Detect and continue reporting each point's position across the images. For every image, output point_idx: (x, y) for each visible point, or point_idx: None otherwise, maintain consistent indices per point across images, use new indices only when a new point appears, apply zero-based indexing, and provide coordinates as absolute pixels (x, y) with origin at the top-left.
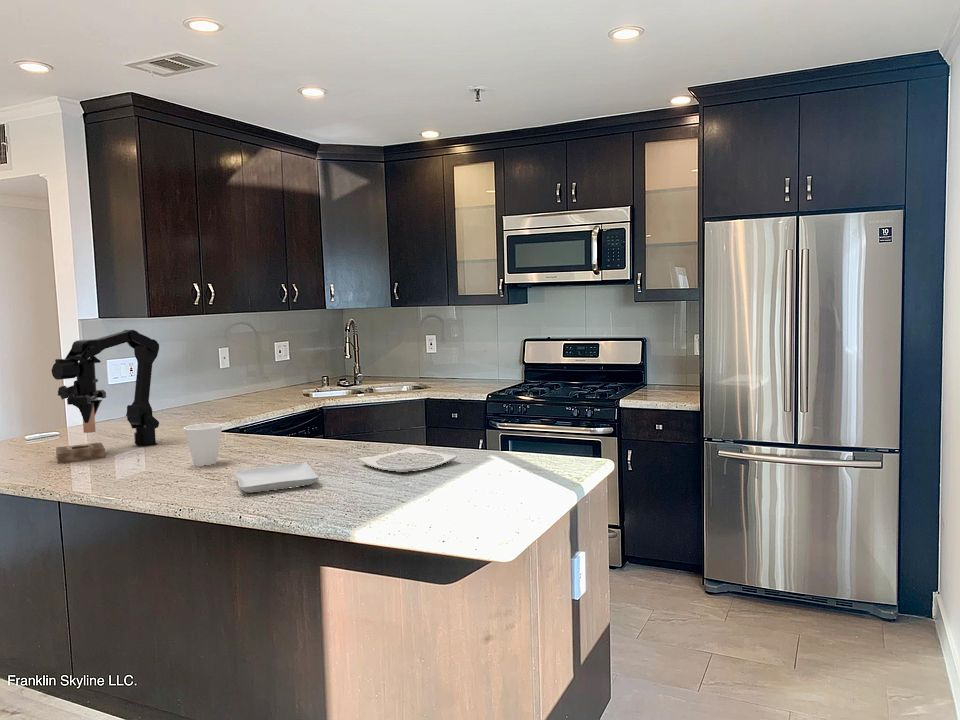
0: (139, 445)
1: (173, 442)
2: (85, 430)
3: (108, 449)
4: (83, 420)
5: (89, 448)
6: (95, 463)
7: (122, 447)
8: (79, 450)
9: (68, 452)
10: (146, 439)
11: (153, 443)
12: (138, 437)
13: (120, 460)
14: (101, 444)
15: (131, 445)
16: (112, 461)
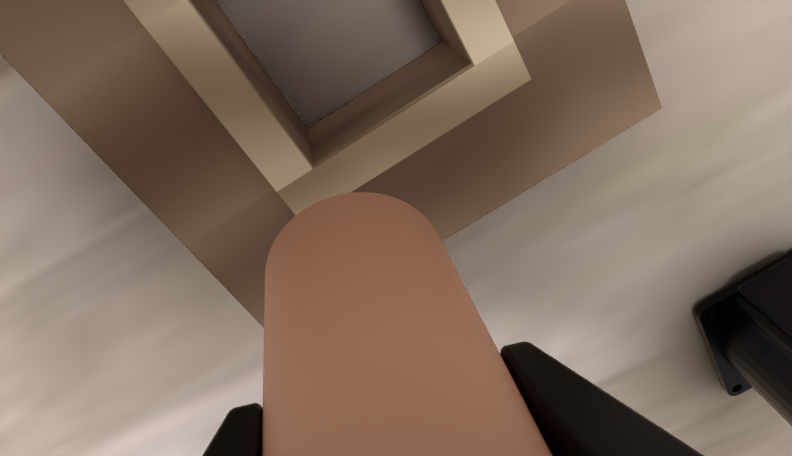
0: (698, 321)
1: (761, 444)
2: (268, 283)
3: (677, 104)
4: (283, 391)
5: (276, 187)
6: (30, 333)
7: (725, 189)
8: (165, 123)
9: (17, 43)
10: (748, 378)
11: (725, 384)
12: (776, 343)
13: (167, 446)
14: (517, 185)
15: (786, 220)
16: (126, 414)
